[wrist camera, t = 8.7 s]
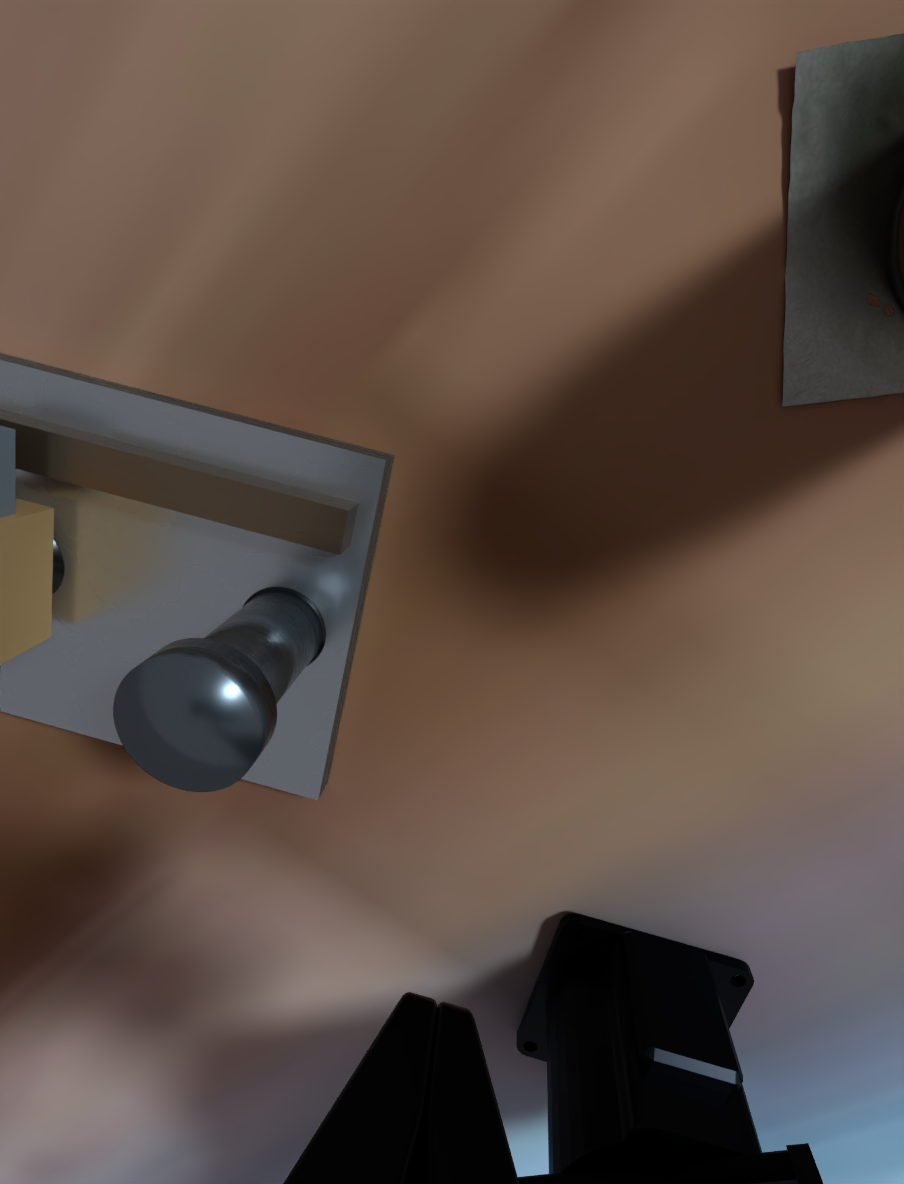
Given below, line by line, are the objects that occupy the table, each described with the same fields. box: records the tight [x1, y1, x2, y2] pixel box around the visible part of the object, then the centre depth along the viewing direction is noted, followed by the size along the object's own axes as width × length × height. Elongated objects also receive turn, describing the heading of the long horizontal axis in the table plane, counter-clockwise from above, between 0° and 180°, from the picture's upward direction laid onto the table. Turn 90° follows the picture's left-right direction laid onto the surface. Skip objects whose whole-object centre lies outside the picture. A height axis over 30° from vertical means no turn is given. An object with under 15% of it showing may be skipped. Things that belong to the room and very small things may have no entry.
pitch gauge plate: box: [0, 353, 394, 800], centre depth 17 cm, size 11×16×6 cm
